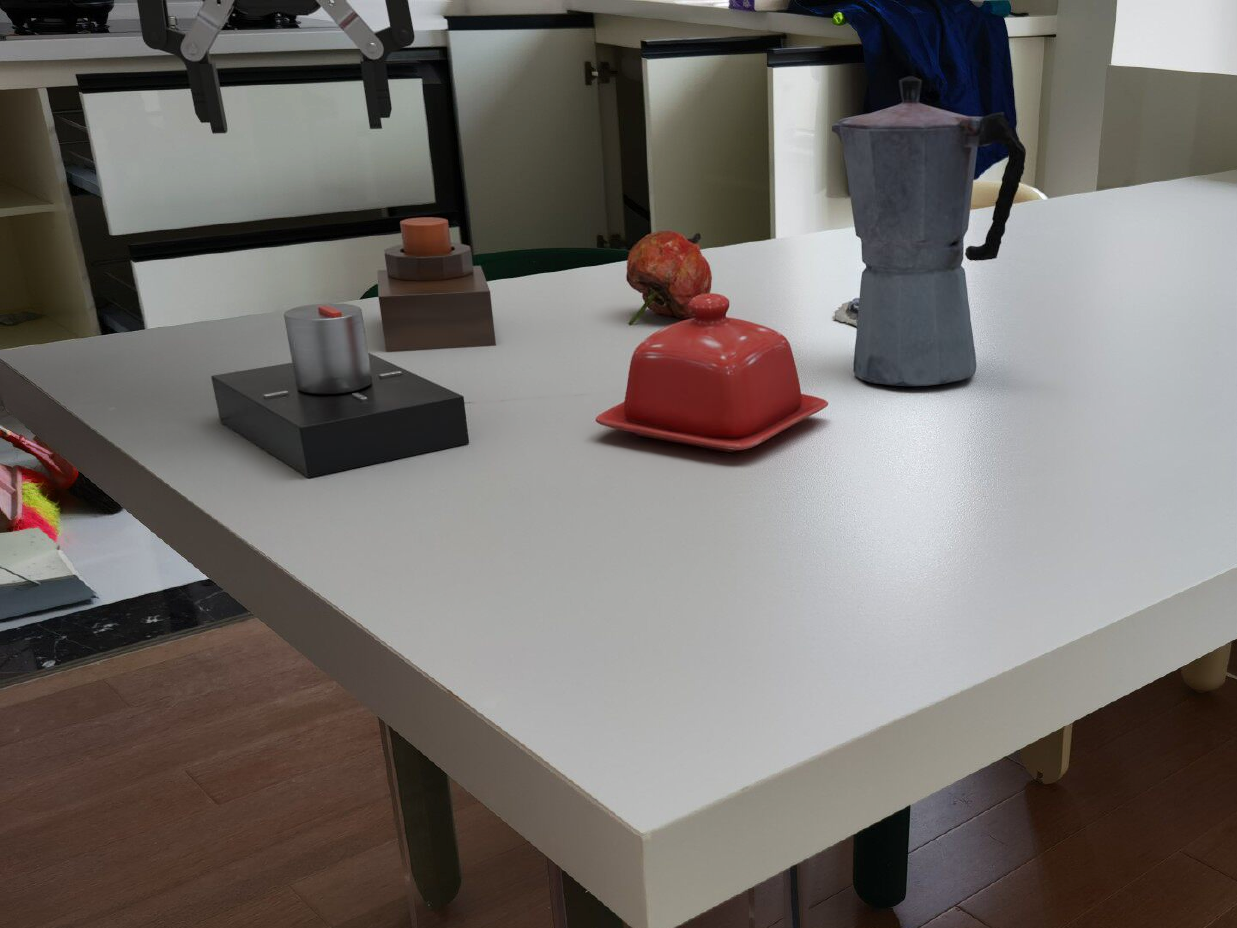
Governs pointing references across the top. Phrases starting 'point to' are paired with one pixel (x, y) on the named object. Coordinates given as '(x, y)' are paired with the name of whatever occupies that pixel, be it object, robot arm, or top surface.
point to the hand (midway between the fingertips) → (298, 130)
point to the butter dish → (712, 383)
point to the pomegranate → (668, 273)
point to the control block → (434, 301)
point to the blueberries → (848, 312)
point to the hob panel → (341, 417)
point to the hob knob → (328, 348)
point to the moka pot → (919, 234)
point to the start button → (425, 235)
